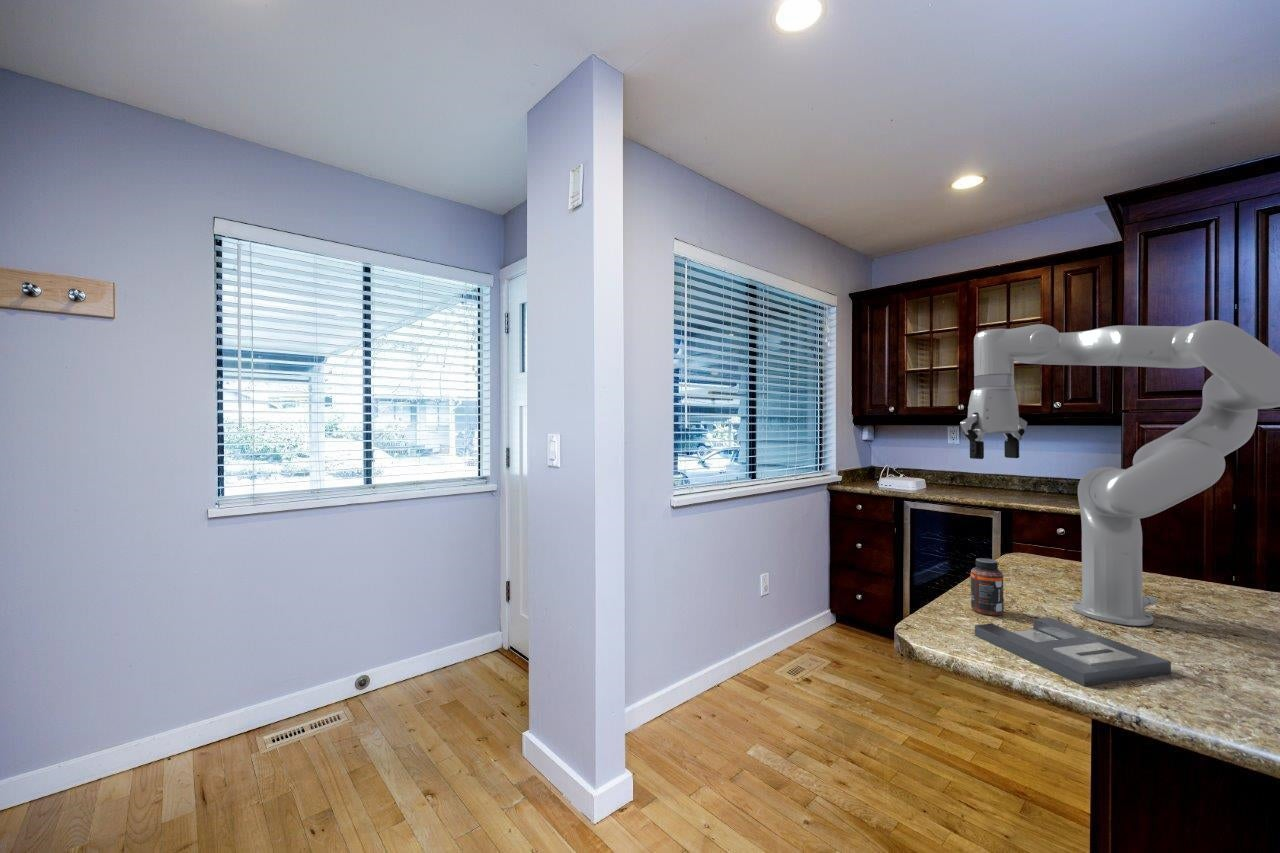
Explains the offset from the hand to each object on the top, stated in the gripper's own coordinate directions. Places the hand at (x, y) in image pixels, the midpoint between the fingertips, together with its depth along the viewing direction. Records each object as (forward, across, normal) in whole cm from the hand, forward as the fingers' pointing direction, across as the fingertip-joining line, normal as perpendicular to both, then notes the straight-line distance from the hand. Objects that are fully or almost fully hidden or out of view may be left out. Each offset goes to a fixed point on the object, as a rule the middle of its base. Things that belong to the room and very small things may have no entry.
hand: (994, 458), depth 117 cm
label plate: (+33, +11, +24) cm, 42 cm away
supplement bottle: (+34, +7, +4) cm, 34 cm away
